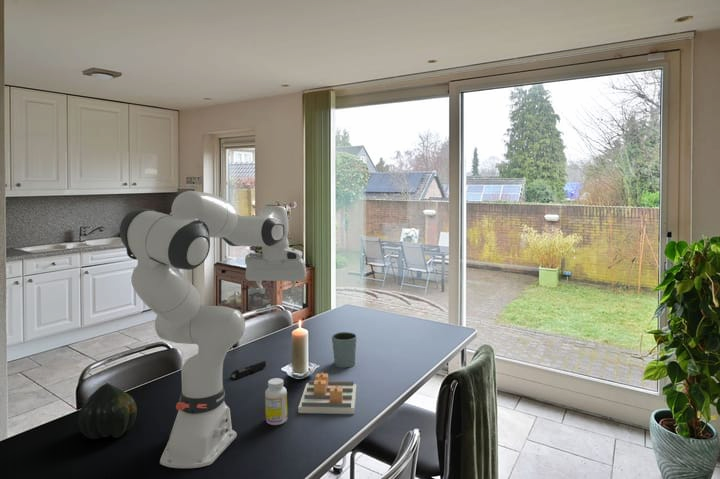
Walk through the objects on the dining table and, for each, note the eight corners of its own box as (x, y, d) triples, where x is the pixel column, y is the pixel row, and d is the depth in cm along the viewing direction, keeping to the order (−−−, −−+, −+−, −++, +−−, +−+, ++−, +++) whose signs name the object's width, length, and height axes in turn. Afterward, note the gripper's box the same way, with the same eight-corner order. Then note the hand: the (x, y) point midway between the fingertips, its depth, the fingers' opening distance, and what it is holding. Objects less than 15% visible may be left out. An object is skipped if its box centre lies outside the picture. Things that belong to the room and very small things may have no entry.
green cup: (360, 366, 185) (360, 338, 183) (336, 370, 181) (336, 341, 180) (351, 358, 194) (351, 330, 193) (328, 361, 190) (328, 333, 189)
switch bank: (354, 414, 145) (354, 404, 145) (298, 412, 146) (298, 403, 146) (356, 389, 163) (356, 380, 163) (306, 388, 164) (306, 380, 164)
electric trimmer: (268, 369, 183) (268, 361, 182) (235, 381, 171) (235, 373, 170) (262, 367, 185) (262, 359, 185) (229, 378, 173) (229, 370, 173)
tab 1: (327, 389, 158) (327, 375, 158) (315, 389, 159) (315, 375, 158) (328, 385, 161) (328, 372, 161) (317, 385, 162) (316, 371, 161)
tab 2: (325, 396, 153) (325, 382, 152) (313, 396, 153) (313, 381, 153) (326, 392, 156) (326, 378, 155) (314, 392, 156) (314, 378, 156)
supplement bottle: (277, 413, 146) (277, 374, 145) (291, 419, 142) (291, 380, 140) (261, 421, 141) (260, 381, 139) (275, 428, 137) (274, 387, 135)
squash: (106, 435, 122) (127, 380, 131) (58, 432, 125) (82, 378, 134) (135, 446, 134) (152, 395, 142) (90, 443, 136) (110, 393, 145)
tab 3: (342, 404, 147) (342, 389, 147) (329, 404, 148) (329, 389, 147) (342, 400, 150) (342, 385, 150) (330, 400, 150) (330, 385, 150)
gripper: (242, 254, 149) (243, 295, 151) (304, 254, 149) (304, 295, 150) (247, 251, 155) (248, 291, 157) (306, 251, 155) (307, 291, 157)
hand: (276, 293), depth 154 cm, fingers open, 8 cm apart
